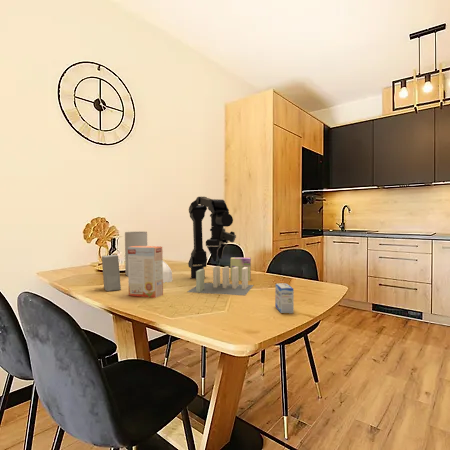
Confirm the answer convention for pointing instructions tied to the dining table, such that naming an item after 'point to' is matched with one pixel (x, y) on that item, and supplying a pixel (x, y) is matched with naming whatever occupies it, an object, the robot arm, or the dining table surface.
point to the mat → (223, 289)
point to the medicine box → (284, 298)
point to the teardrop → (166, 273)
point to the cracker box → (145, 271)
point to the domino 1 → (200, 280)
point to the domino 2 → (216, 276)
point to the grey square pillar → (133, 243)
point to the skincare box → (111, 272)
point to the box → (240, 266)
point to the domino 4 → (235, 278)
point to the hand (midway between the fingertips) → (217, 260)
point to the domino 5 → (244, 277)
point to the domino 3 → (225, 276)
